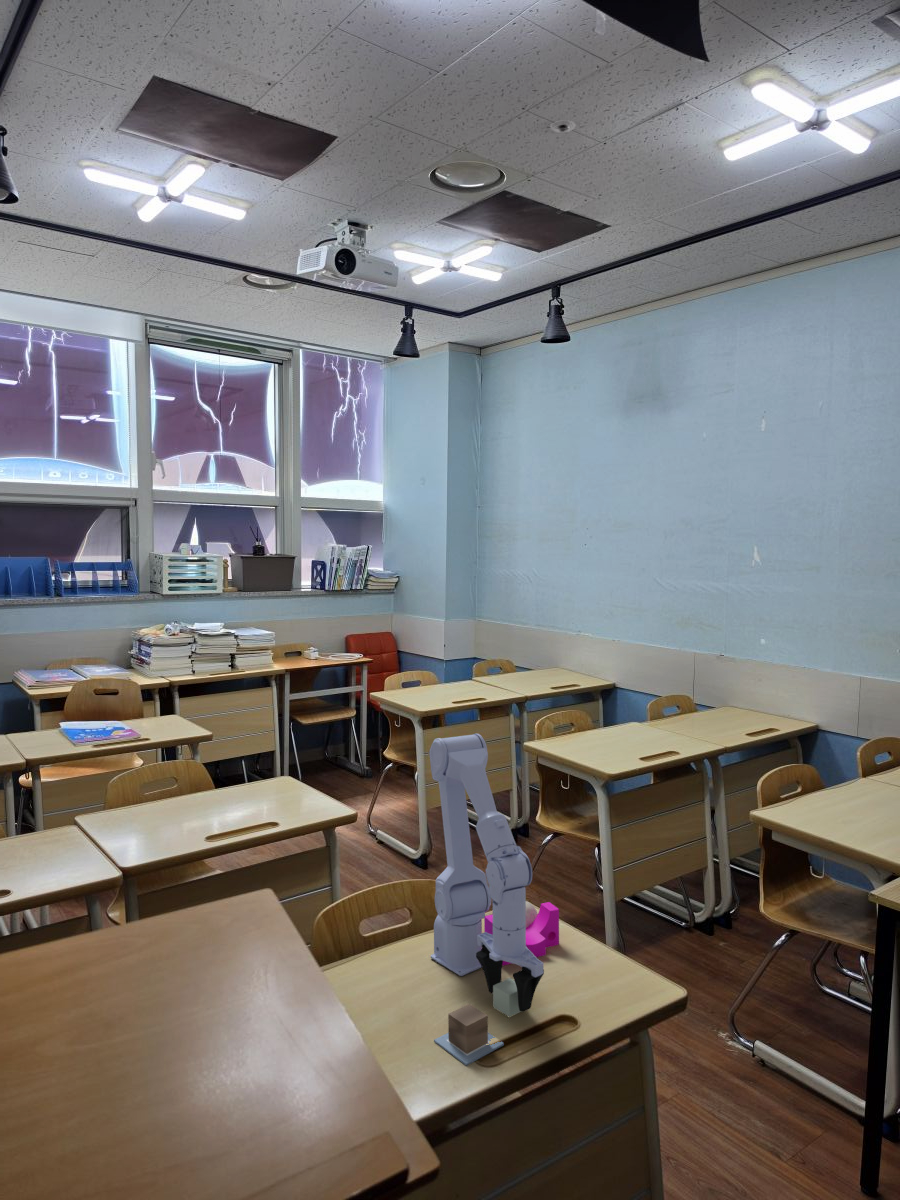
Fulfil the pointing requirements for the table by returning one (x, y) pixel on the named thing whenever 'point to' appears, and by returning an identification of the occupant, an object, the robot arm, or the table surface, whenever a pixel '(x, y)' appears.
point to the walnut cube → (468, 1028)
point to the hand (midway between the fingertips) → (509, 999)
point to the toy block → (537, 930)
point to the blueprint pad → (461, 1055)
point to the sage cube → (506, 997)
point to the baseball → (530, 913)
